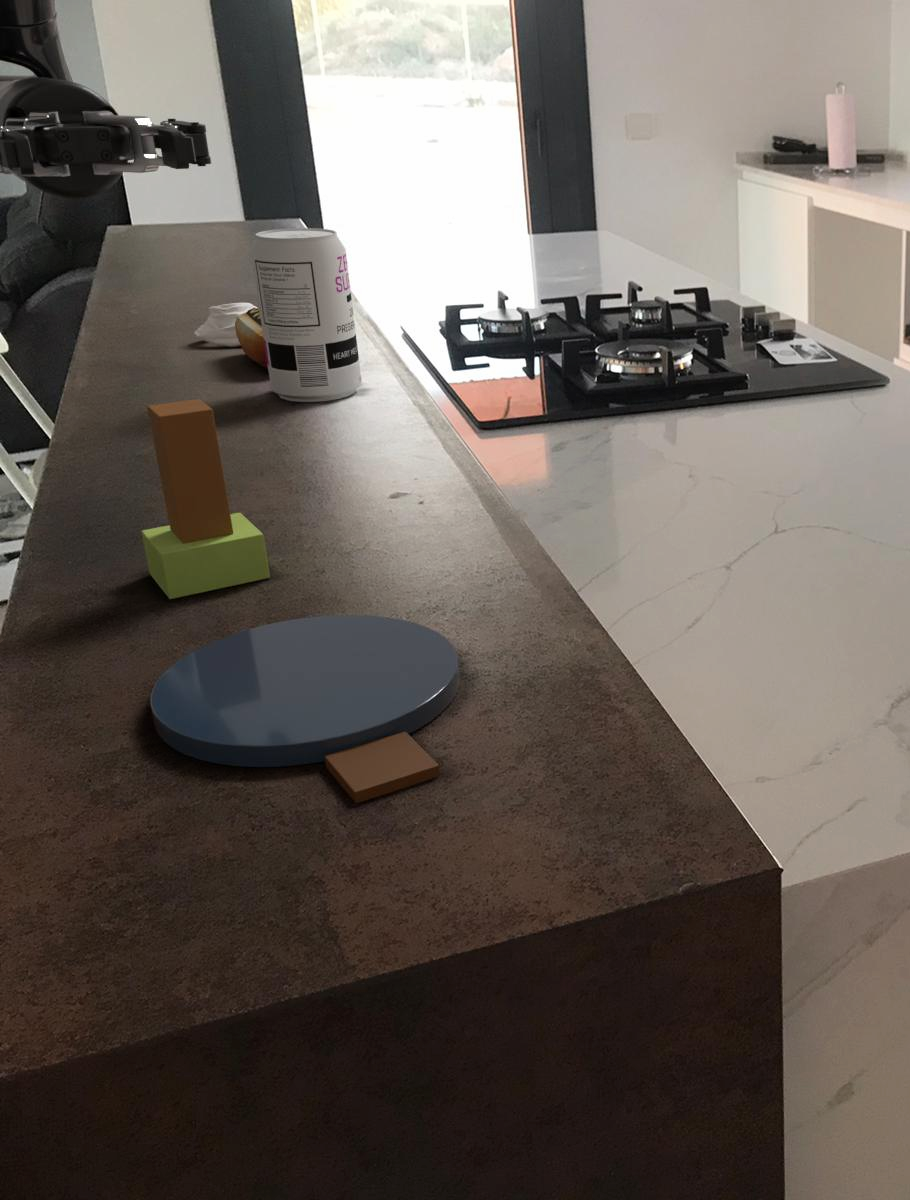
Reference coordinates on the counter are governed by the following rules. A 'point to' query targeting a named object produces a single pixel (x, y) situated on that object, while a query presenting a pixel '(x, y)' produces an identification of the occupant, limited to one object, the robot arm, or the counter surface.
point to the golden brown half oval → (251, 336)
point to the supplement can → (306, 314)
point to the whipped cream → (222, 324)
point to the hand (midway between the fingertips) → (105, 153)
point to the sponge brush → (197, 509)
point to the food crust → (381, 766)
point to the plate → (304, 689)
